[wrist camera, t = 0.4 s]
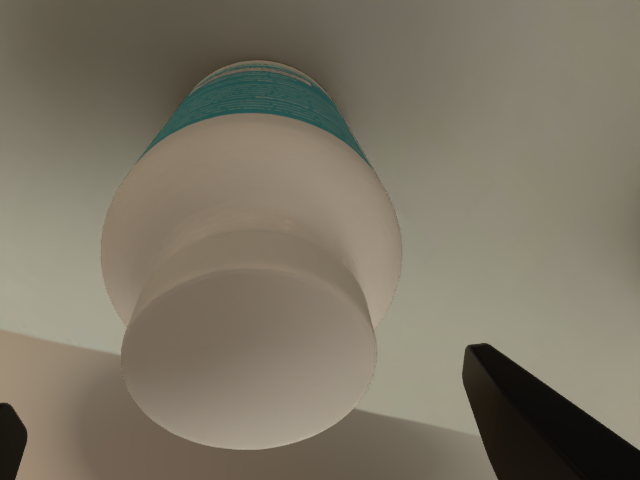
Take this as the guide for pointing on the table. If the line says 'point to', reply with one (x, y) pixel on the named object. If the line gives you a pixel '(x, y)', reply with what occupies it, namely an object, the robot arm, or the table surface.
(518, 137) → the table surface
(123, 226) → the pill bottle
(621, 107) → the table surface
